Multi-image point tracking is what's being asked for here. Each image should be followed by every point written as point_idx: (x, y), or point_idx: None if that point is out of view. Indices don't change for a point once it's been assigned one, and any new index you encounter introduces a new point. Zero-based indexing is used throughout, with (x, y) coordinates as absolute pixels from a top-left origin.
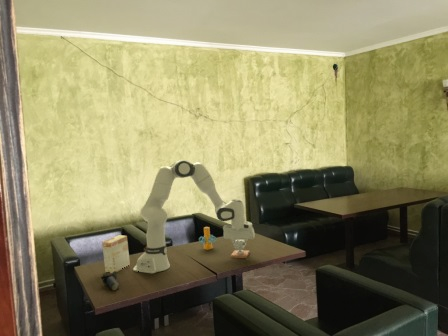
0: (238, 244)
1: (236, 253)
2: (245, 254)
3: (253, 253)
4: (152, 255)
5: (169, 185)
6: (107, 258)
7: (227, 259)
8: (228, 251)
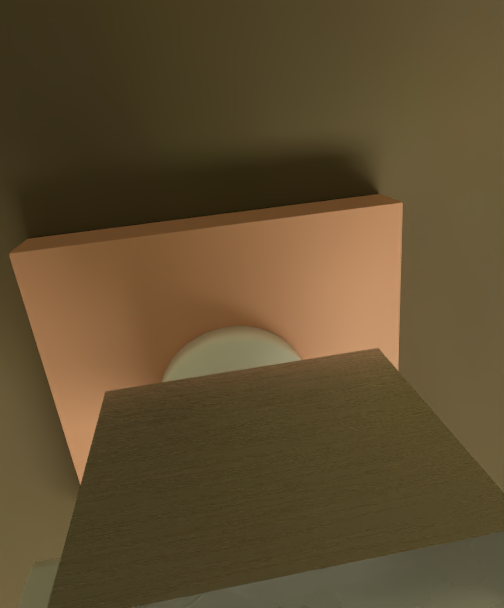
0: (271, 478)
1: (307, 343)
2: (69, 329)
3: (12, 502)
4: None
5: None
6: None
7: (432, 58)
8: (492, 472)
